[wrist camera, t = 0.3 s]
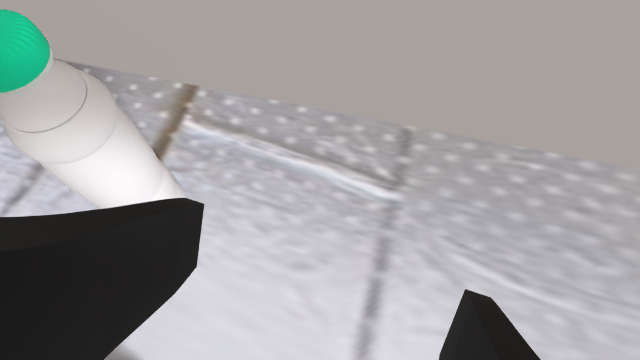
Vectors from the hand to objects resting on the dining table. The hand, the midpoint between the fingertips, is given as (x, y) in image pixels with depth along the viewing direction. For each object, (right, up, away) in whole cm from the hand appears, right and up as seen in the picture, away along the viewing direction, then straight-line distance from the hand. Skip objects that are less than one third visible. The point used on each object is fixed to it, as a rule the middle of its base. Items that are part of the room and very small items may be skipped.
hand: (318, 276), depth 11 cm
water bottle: (-18, -1, +34) cm, 38 cm away
